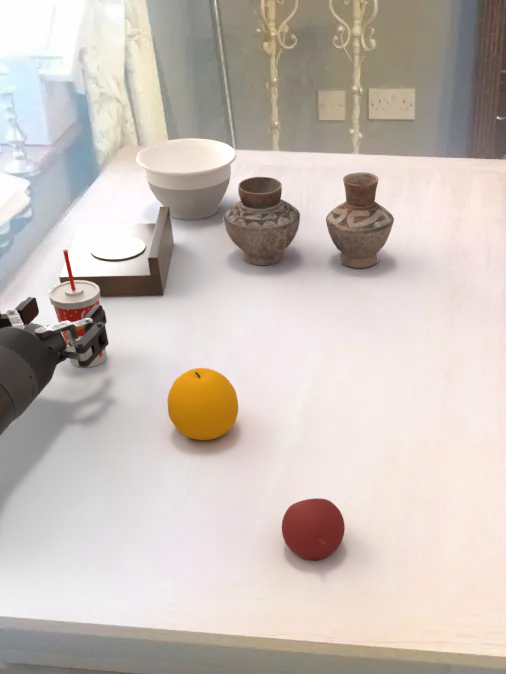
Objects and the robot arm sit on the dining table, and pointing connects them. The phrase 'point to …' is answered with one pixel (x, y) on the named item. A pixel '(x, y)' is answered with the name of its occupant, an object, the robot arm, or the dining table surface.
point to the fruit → (313, 528)
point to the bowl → (188, 175)
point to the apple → (202, 404)
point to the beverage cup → (75, 304)
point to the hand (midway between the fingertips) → (67, 308)
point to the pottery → (283, 221)
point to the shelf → (123, 257)
